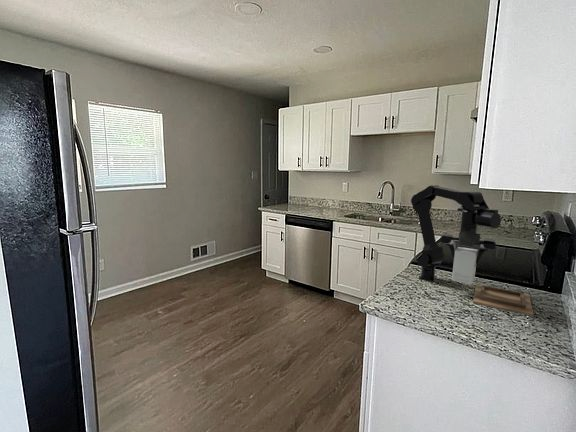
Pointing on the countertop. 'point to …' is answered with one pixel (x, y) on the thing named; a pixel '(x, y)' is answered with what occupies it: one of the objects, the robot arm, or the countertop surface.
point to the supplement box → (464, 265)
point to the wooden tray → (503, 299)
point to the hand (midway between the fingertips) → (465, 262)
